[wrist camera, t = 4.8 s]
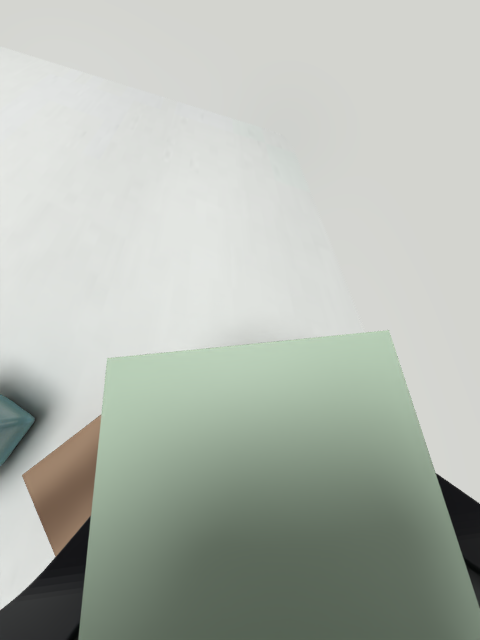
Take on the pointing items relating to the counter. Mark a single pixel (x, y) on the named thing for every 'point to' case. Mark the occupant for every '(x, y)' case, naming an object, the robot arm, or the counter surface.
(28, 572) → the counter surface
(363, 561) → the sage pillar
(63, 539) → the walnut block
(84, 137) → the counter surface
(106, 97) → the counter surface
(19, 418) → the flower pot
